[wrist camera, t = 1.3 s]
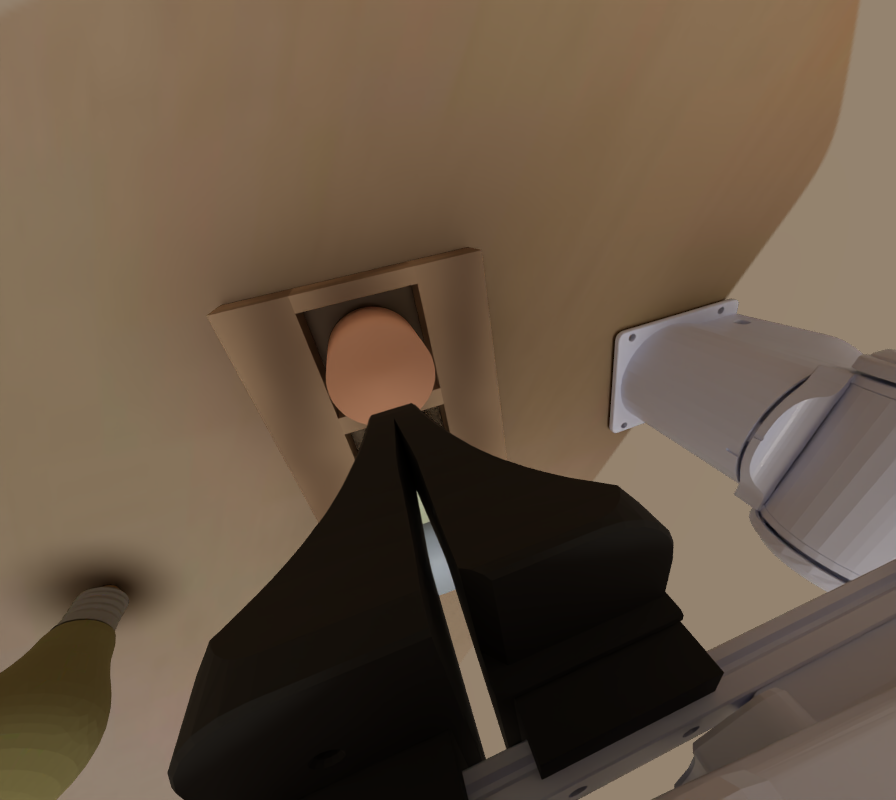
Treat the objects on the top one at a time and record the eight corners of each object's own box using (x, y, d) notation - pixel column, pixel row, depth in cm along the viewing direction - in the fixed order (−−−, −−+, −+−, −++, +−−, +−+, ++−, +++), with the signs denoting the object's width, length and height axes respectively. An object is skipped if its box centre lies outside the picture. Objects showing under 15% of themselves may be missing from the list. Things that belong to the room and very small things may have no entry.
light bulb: (177, 609, 23) (82, 844, 14) (69, 629, 21) (-113, 908, 12) (154, 549, 20) (22, 788, 12) (29, 566, 19) (-230, 859, 10)
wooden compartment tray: (467, 247, 18) (481, 250, 16) (505, 515, 28) (516, 535, 26) (220, 305, 16) (206, 315, 14) (356, 570, 26) (358, 595, 24)
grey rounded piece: (453, 492, 23) (471, 534, 20) (463, 536, 25) (481, 579, 22) (388, 515, 22) (397, 561, 19) (405, 558, 24) (415, 605, 21)
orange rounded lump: (406, 296, 16) (422, 313, 13) (426, 378, 19) (443, 408, 16) (313, 320, 16) (307, 343, 13) (345, 402, 18) (347, 438, 15)
